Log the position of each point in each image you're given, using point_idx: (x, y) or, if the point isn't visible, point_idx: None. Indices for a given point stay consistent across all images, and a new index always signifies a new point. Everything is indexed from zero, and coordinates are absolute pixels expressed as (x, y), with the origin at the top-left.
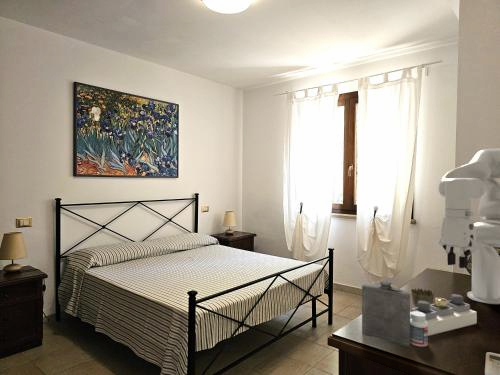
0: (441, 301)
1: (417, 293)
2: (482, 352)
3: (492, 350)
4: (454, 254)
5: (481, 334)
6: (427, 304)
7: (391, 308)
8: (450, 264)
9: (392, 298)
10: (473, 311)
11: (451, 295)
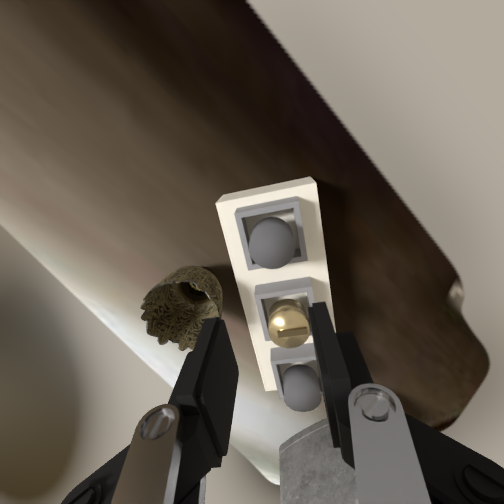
0: (304, 340)
1: (152, 302)
2: (448, 305)
3: (453, 276)
4: (208, 402)
5: (376, 227)
6: (318, 398)
7: None
8: (237, 368)
9: None
10: (309, 191)
11: (260, 265)
